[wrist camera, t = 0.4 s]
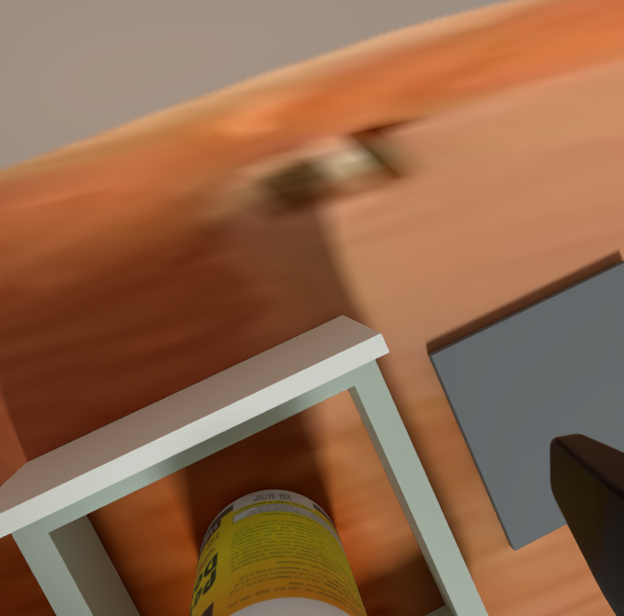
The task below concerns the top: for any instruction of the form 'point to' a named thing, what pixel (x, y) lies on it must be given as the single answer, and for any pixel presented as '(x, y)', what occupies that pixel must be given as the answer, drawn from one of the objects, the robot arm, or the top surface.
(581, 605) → the top surface
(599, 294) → the mat
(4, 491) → the drawer
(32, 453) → the top surface
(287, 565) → the supplement bottle
